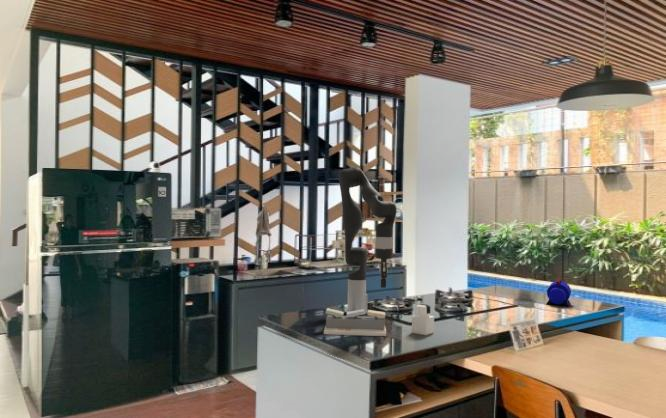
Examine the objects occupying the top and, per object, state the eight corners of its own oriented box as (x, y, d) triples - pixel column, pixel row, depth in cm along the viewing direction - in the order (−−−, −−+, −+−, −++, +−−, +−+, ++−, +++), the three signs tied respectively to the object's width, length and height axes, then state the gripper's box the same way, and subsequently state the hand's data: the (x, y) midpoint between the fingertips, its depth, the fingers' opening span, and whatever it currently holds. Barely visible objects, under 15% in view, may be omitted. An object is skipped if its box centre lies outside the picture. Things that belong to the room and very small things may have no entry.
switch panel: (385, 329, 226) (385, 316, 226) (386, 336, 213) (386, 322, 213) (326, 327, 228) (326, 314, 228) (323, 334, 215) (324, 321, 215)
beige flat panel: (384, 317, 224) (385, 312, 224) (384, 320, 219) (385, 314, 219) (367, 315, 225) (367, 309, 225) (367, 317, 220) (367, 311, 220)
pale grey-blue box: (364, 314, 225) (363, 308, 225) (364, 316, 220) (363, 311, 220) (347, 317, 225) (346, 312, 226) (347, 319, 220) (346, 314, 221)
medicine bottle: (419, 330, 226) (420, 302, 226) (434, 332, 221) (434, 304, 221) (411, 332, 220) (411, 304, 220) (426, 335, 216) (426, 307, 216)
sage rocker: (342, 317, 226) (343, 311, 226) (342, 319, 221) (343, 314, 221) (325, 313, 226) (327, 308, 226) (325, 315, 221) (326, 310, 221)
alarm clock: (571, 304, 298) (571, 278, 298) (568, 307, 287) (568, 280, 287) (548, 302, 304) (549, 276, 304) (545, 305, 294) (545, 279, 294)
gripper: (374, 246, 229) (374, 284, 229) (375, 248, 216) (375, 289, 216) (391, 246, 229) (391, 285, 229) (393, 248, 216) (392, 289, 216)
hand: (383, 287), depth 223 cm, fingers closed
